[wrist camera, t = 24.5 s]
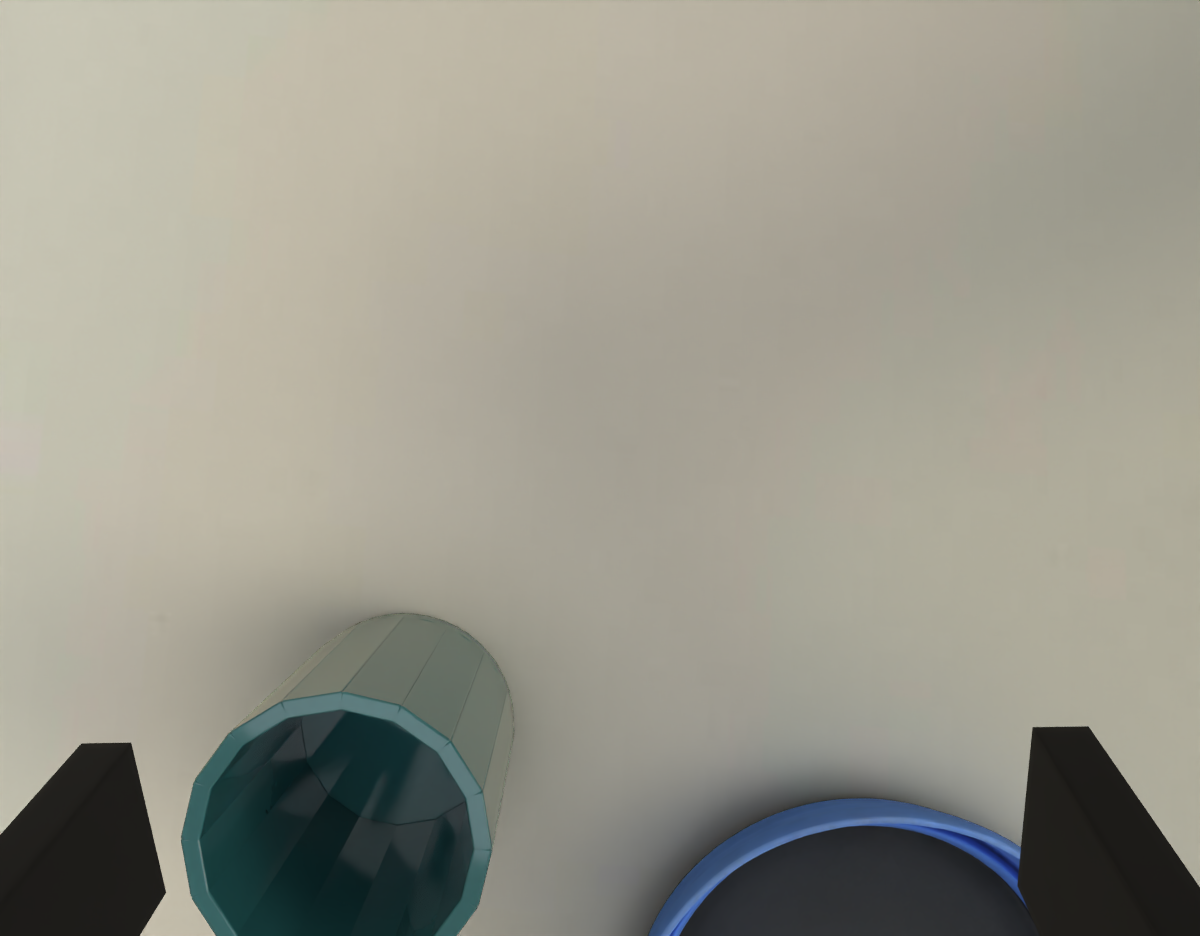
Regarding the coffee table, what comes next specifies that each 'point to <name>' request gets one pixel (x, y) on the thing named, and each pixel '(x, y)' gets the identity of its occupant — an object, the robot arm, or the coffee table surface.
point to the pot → (357, 790)
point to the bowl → (853, 877)
